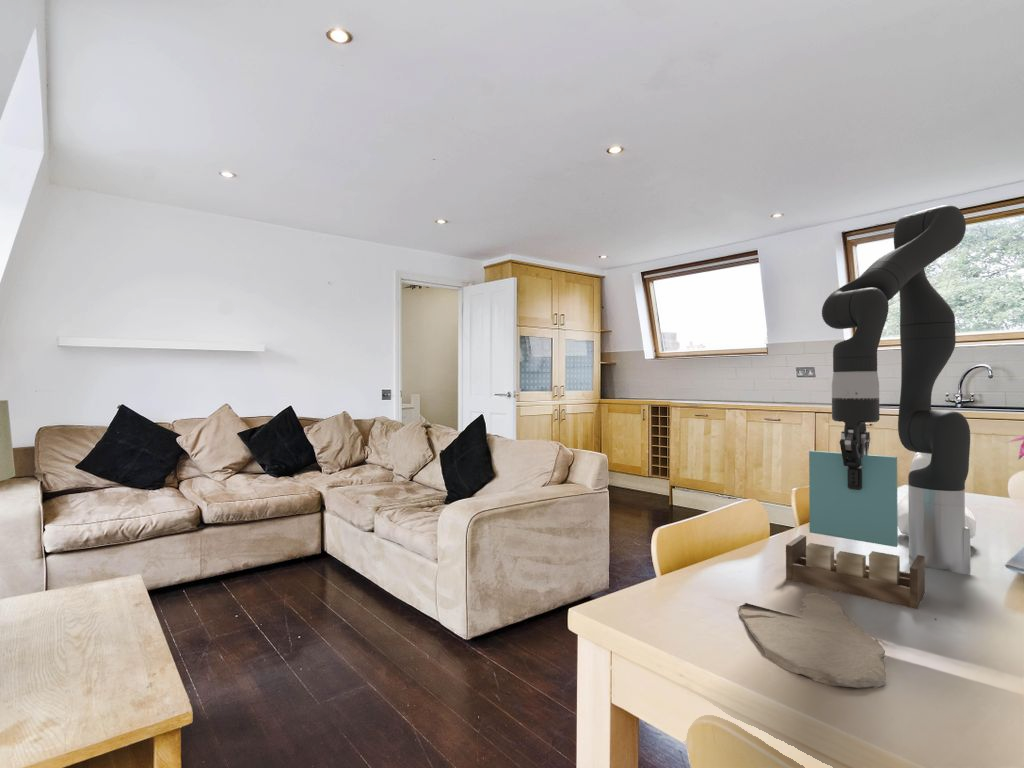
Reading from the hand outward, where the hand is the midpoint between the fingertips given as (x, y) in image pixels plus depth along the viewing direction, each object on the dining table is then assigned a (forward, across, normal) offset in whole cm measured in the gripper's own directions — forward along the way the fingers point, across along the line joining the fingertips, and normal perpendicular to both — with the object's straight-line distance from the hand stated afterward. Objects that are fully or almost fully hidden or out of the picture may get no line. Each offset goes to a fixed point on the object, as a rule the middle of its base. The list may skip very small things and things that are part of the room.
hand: (855, 488), depth 100 cm
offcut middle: (+18, -4, 0) cm, 18 cm away
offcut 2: (+18, -4, -5) cm, 19 cm away
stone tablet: (+20, -27, +2) cm, 34 cm away
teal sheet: (+10, 0, +1) cm, 10 cm away
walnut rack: (+19, -3, 0) cm, 19 cm away
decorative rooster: (+19, +55, -7) cm, 59 cm away
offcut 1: (+17, -4, +5) cm, 19 cm away
